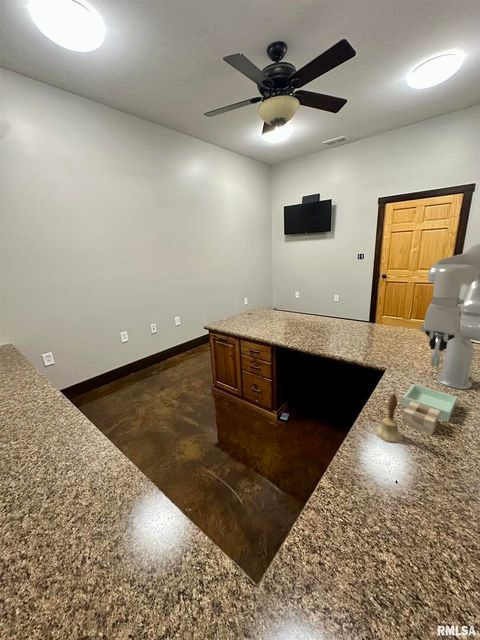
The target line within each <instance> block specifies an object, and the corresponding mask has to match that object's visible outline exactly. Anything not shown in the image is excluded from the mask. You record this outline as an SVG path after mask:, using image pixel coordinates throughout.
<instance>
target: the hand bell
mask: <svg viewBox="0 0 480 640" xmlns="http://www.w3.org/2000/svg"><path fill="white" fill-rule="evenodd" d="M397 405H398V398H397V395H396V394H395V393H391V394H390V396H389V398H388V401H387V407H388V415H387V417H384V418H383V419H382V421H381V424H380V425H378V426H377V427H376V428H375V429H374V433H375V434H376V436H377V437H378V438H379V439H381V440H383V441H384V442H388V443H391V444H392V443H393V444H397V443H401V442H402V440H403V434H402V433H401V432H400V430H399V425H398V421H396V420H395V419H394V416H395V410H396V409H397V407H398V406H397Z"/></svg>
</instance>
